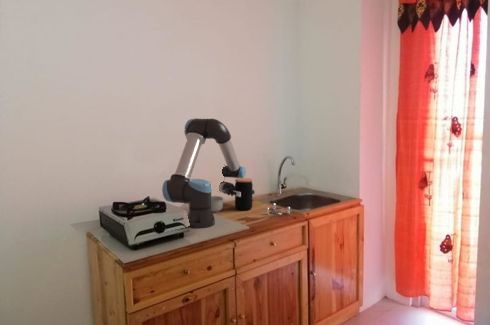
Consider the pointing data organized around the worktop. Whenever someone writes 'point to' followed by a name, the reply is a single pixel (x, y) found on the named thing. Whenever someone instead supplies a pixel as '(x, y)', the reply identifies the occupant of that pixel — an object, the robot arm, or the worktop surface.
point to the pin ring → (276, 211)
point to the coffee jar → (243, 193)
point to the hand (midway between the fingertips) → (247, 193)
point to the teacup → (216, 203)
